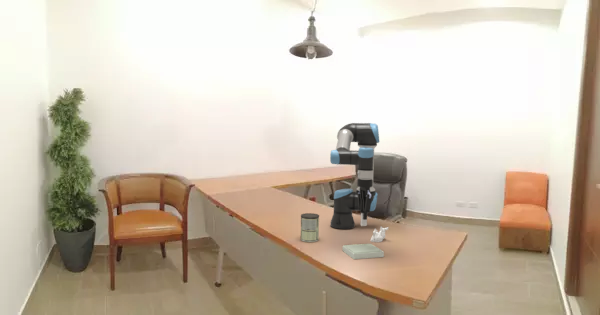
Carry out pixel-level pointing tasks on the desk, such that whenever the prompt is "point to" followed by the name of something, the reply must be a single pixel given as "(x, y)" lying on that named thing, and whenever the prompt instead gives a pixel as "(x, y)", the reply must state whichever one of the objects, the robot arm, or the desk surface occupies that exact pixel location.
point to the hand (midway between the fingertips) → (363, 225)
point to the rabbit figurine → (378, 235)
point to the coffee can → (309, 227)
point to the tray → (363, 251)
